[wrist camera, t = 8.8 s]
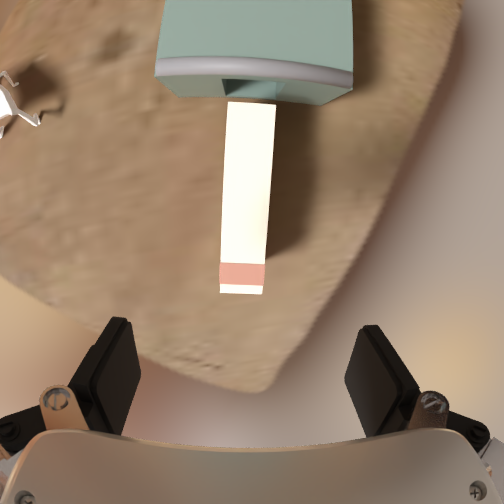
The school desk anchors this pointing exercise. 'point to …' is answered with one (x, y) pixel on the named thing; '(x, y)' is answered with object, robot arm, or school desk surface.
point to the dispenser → (257, 49)
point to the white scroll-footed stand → (12, 105)
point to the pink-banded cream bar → (246, 196)
